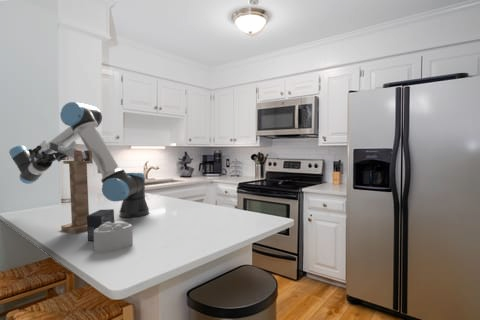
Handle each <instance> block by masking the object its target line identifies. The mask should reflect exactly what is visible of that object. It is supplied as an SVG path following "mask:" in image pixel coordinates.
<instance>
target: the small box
mask: <svg viewBox="0 0 480 320" xmlns="http://www.w3.org/2000/svg"><path fill="white" fill-rule="evenodd" d="M105 222H111V223H114V222H115V210H114V209H98V210H96V211H94V212H92V213H89V215H88V216H87V241H88V242H94V230H95V229H96V228H98V227H99V226H100V225H102V224H104V223H105Z"/></svg>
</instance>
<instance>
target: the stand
mask: <svg viewBox="0 0 480 320" xmlns="http://www.w3.org/2000/svg"><path fill="white" fill-rule="evenodd" d="M82 152H84V153H87V154H88V160H82ZM62 161H63V162H62V163H63V164H67V165H68V167H69V189H70V190H69V191H70V193H69V194H70V211H71V215H70V216H71V223H67V224H63V225H61V227H60V230H61V231H62V232H68V233H72V234H76V235H77V234H79V233H83V232H88V230H87V216H88V215H90V211H89V210H90V209H89V207H90V206H89V190H88V189H89V187H88V185H89V183H88V165H89V164H93V162H94V160H93V158H92V150H84V151H82V150H79V151H74V158H73V160H62ZM87 164H88V165H87Z"/></svg>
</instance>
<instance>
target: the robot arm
mask: <svg viewBox="0 0 480 320" xmlns="http://www.w3.org/2000/svg"><path fill="white" fill-rule="evenodd" d="M59 113H60V119H61V120H60V121H61V122H62V123H63V124H64V125H65V126H68V127H67V128H66V129H64V130H63V131H62V132H61V133H59V134H58V135H57V136H55V137H53V139H51V140H50V141H49V142H46V140H42V142H41V143H40V144H39V145H37V146H36V147H35V148H33V149H32V148H30V149H28V148H27V147H26V146H25V145H24V144H23V145H22V144H20V145H16V146H14V147H12V148H10V149H9V151H8V153H9V156H10V157H11V159H12V161H13V162H14V163H15V165H16V167H17V168H18V170H19V172H20V174H19V180H20V181H21V182H22V183H24V184H26V185H31V184H34V183H35V182H37V181H38V180H39V179H40V177H41V176H42V175H43V174H44V173H45V172H46V171H47V170H49V168H51V167H52V165H53V162H55V161H57V162H61V161H63V160H64V159H65V158H68V157H69V156H67V155H65V154H62V153H60V152H56V151H54V150H51V149H50V148H49V143H50V142H58V143H60V144H63V145H65V146H68V147H70V148H73V149H76V147H77V146H78V144H77V143H76V141H77V140H78V139H81V141H82V142H83V144H84V146H85V148H86V149H87V150H92V161H93V162H94V163H95V166H96V167H97V169H98V171H99V173H100V174H101V179H100V180H101V182H102V183H101V184H102V185H101V192H102V195H103V197H105V199H107V200H108V201H110V202H121V201H122V202H121V206H120V208H119V209H120V210H119V216H120V217H122V218H136V217H143V216H146V215H148V214H149V212H150V209H149V207H148V206H149V205H148V203H147V200H146V189H145V188H146V187H145V186H146V184H145V183H146V182H145V181H146V179H145V174H144V173H143V172H126V171H125V170H124V169H122V168H120V166H118V163H117V162H116V160H115V158H114V157H113V155H112V152H111V151H110V149H109V147H108V146H107V144H106V142H105V140H104V138H103V137H102V135H101V133H100V131H99V129H98V127H99V126H100V125H101V124H102V122H103V115H102V112H101V110H100V109H99V108H97V107H96V106H93V105H89V104H86V103H82V102H81V103H80V102H77V101H76V102H75V101H71V102H70V101H69V102H67V103H66V104H64V105H63V106H62V108H61V111H60V112H59Z"/></svg>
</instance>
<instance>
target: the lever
mask: <svg viewBox="0 0 480 320" xmlns="http://www.w3.org/2000/svg"><path fill="white" fill-rule="evenodd" d="M49 142H50V141H49ZM49 142H48V143H49ZM49 148H50V149H51V150H54V151H56V152H60V153H62V154H65V155H67V156H68V157H70V158H73V159H74V151H80V150H78V149H76V148H75V149H73V148H70V147H68V146H65V145H63V144H60V143H58V142H50V143H49ZM82 160H88V154H87V153H84V151H82Z"/></svg>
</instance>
